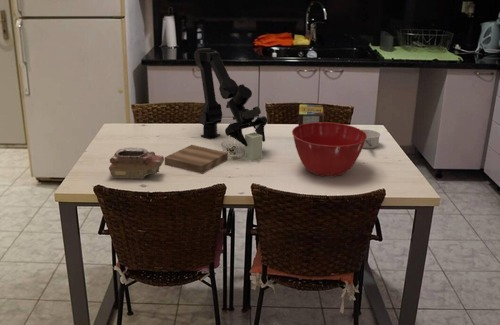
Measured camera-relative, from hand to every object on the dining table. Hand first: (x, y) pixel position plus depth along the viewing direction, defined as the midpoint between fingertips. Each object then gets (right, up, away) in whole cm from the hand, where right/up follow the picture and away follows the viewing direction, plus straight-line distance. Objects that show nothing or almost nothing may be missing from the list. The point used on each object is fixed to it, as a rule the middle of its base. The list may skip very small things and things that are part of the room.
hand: (255, 143), depth 236 cm
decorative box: (-44, -13, -15) cm, 48 cm away
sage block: (-1, -6, +3) cm, 7 cm away
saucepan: (+48, -2, +16) cm, 51 cm away
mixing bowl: (+28, -11, -8) cm, 31 cm away
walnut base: (-24, -7, -1) cm, 25 cm away
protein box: (+24, +1, +22) cm, 33 cm away
